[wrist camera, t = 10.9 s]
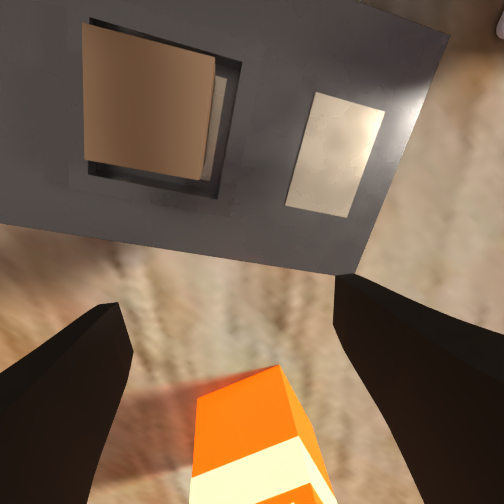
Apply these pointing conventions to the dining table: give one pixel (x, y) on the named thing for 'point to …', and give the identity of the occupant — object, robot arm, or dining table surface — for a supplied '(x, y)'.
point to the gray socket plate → (222, 126)
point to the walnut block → (145, 103)
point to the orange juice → (257, 446)
